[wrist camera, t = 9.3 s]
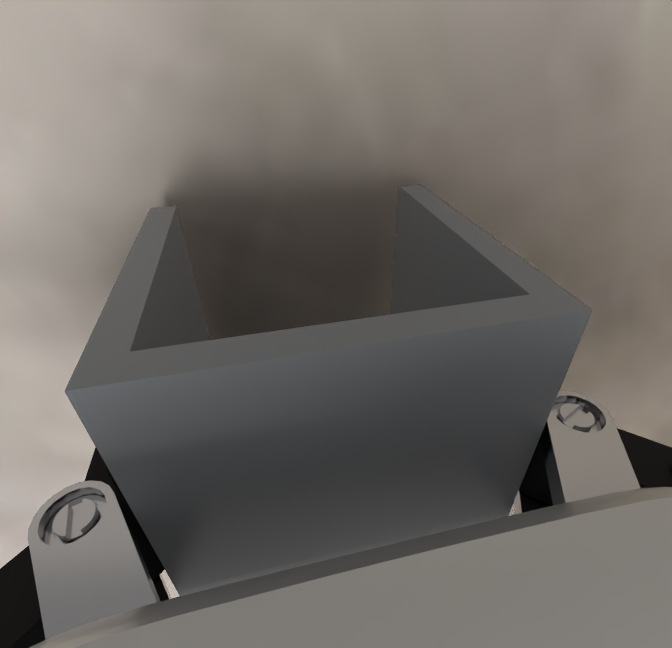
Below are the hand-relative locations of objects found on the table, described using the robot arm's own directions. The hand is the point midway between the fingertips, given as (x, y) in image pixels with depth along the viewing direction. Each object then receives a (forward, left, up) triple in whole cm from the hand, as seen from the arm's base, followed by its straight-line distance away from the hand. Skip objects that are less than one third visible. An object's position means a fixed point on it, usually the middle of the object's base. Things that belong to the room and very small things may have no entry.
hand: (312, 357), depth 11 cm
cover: (0, 0, -2) cm, 2 cm away
